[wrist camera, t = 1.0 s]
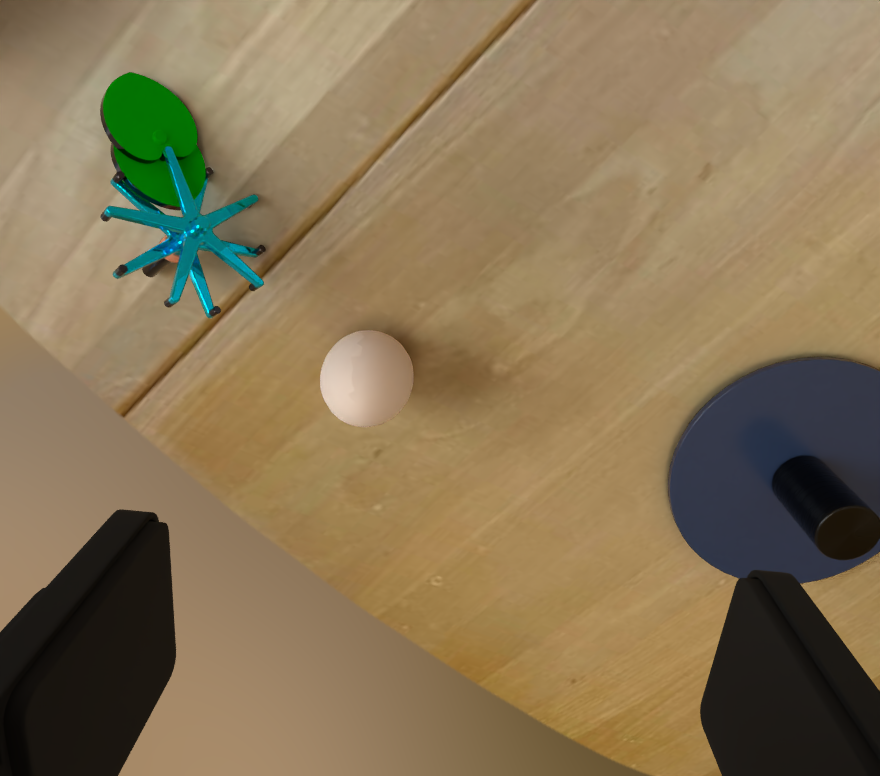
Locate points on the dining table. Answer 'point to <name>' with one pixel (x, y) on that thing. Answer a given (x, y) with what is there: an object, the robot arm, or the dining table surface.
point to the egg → (366, 378)
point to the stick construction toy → (167, 185)
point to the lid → (784, 471)
